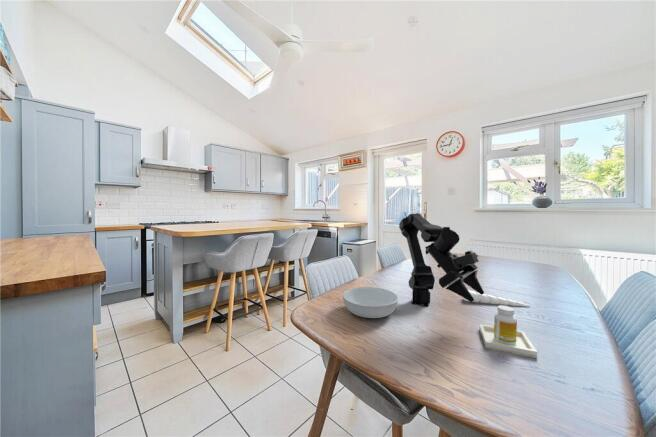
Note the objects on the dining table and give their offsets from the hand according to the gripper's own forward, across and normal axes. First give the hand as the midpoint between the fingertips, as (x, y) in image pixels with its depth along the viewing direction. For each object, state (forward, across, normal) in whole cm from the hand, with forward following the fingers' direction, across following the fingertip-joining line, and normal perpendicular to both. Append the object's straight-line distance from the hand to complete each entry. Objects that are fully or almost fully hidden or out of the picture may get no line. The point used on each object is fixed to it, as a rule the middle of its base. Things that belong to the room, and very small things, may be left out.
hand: (478, 297), depth 78 cm
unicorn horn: (+6, +32, +11) cm, 34 cm away
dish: (+13, 0, +3) cm, 14 cm away
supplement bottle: (+13, 0, +3) cm, 13 cm away
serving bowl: (-14, -14, +31) cm, 37 cm away
